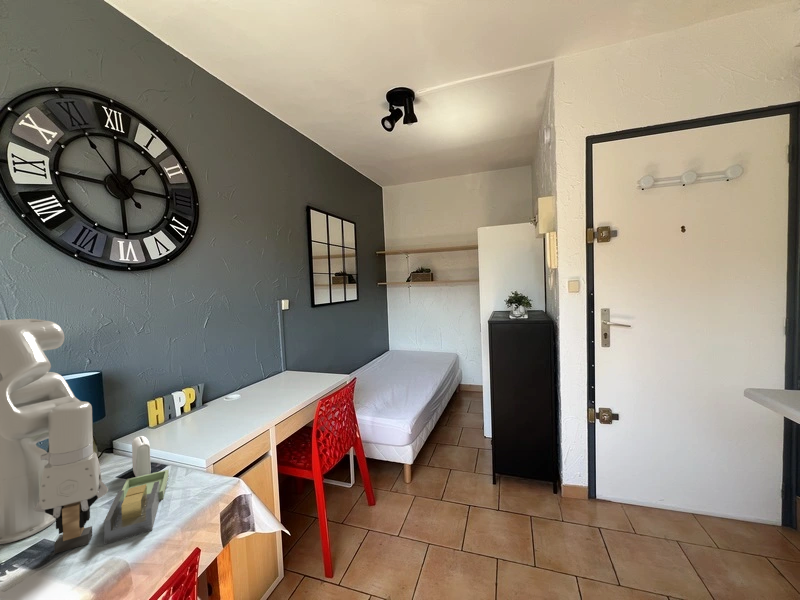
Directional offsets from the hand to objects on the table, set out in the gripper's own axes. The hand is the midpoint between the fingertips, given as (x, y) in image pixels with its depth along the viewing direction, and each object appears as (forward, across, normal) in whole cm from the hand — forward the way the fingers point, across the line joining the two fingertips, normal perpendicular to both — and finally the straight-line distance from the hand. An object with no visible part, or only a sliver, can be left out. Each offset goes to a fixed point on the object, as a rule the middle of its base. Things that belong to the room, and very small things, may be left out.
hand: (73, 526), depth 79 cm
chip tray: (+5, +11, +18) cm, 22 cm away
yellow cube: (+2, +11, +6) cm, 13 cm away
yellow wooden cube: (+2, +11, +2) cm, 11 cm away
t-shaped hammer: (+5, 0, 0) cm, 5 cm away
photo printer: (+5, +8, +33) cm, 34 cm away
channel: (+5, +11, +3) cm, 13 cm away
